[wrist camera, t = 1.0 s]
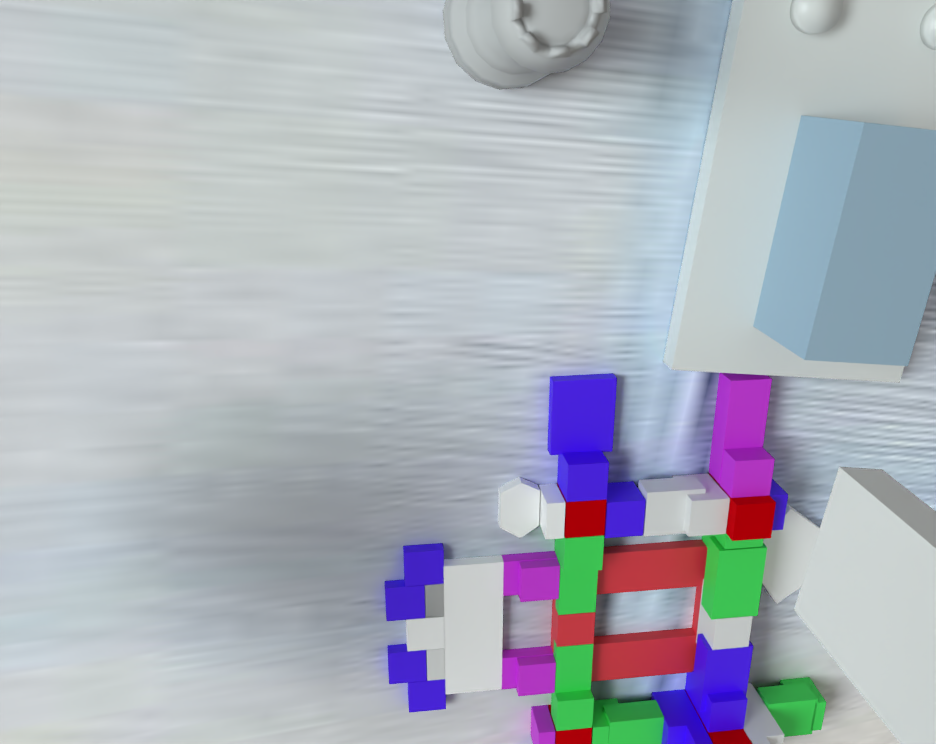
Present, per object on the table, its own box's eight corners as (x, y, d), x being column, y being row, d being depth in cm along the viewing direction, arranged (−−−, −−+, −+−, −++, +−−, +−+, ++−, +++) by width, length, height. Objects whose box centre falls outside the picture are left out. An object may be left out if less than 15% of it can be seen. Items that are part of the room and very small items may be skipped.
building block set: (376, 379, 33) (379, 424, 29) (856, 357, 36) (923, 395, 32) (395, 842, 42) (400, 929, 38) (781, 798, 44) (825, 875, 40)
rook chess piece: (578, -41, 28) (660, -78, 21) (557, 96, 30) (627, 108, 22) (448, -61, 28) (485, -108, 20) (433, 81, 29) (463, 87, 22)
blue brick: (801, 115, 30) (864, 122, 26) (900, 126, 31) (976, 134, 27) (753, 326, 33) (804, 359, 29) (846, 332, 33) (907, 366, 30)
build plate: (760, -144, 28) (783, -156, 26) (1022, -102, 29) (1058, -110, 28) (662, 361, 34) (677, 375, 32) (885, 374, 35) (908, 387, 34)
